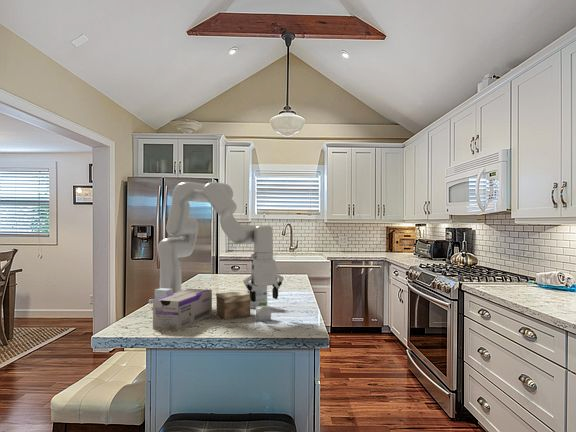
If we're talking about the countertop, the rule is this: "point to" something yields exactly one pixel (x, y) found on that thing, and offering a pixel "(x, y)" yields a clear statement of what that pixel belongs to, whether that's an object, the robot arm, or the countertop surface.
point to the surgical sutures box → (181, 309)
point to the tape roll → (263, 313)
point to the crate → (232, 309)
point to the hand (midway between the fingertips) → (264, 299)
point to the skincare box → (162, 292)
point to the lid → (234, 296)
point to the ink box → (259, 296)
